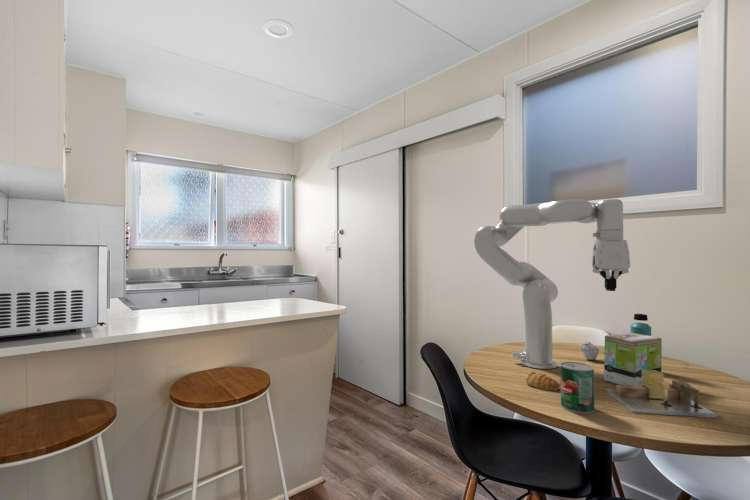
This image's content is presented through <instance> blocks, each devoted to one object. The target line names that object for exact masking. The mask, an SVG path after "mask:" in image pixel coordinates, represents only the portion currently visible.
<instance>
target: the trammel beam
mask: <svg viewBox="0 0 750 500" xmlns="http://www.w3.org/2000/svg"><path fill="white" fill-rule="evenodd" d="M615 387H616V388H615V390H616V394H618V395H619V396H626V397H643V398H649V397H648V388H647V387H641V386H623V385H619V384H616V385H615ZM691 393H693V401H694V407H698V404H699V393H700V390H699V389H697V388H695V387H693V386H692V385H691V384H689V383H687V382H685V381H683V380H679V379H678V380H677V379H676V380H675V379H674V380H671V388H670V387H669V388H668V399H677V400H680V401H691V400H692V398H691V397H692V396H691Z"/></svg>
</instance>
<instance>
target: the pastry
mask: <svg viewBox="0 0 750 500" xmlns="http://www.w3.org/2000/svg"><path fill="white" fill-rule="evenodd" d="M525 383H526V384H527V385H528V386H530V387H531V386H532V387H533V388H536V389H540V390H544V391H553V392H555V391H558V390H560V388H561V383H559V381H557V380H555V379H554V378H552V377H550V376H547V375H546V374H545V373H544V374H542V373H540V372H539V373H536V371H530V372H529V373H528V374H527V376H526V379H525Z"/></svg>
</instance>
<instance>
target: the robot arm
mask: <svg viewBox="0 0 750 500" xmlns="http://www.w3.org/2000/svg"><path fill="white" fill-rule="evenodd" d="M499 220H500V222H499V223H498V224H497V225H496V226H493V225H484V226H481V227H480V228H478V229H477V231H476V232H475V235H474V240H473V242H474V249H475V251H476V253H477V254H478V256H479V257H480V259H481V260H483V262H485V263H486V264H487V265H488V266H489V267H490V268H491V269H492V270H493V271H494V272H496V273H497V274H498V276H501V277H502V278H503V279H504V280H505V282H507V283H508V284H510V285H512V286H516V287H521V288H522V289H523V290H522V302H523V311H524V349H522V351H520V352H516V351H514V352H513V351H512V352H511V358H516V359H519V360H520V364H521V365H523V366H525V367H529V368H533V369H540V370H552V369H555V368H557V367H558V363H557V361H555V360H553V314H552V313H553V312H552V311H553V310H552V305H551V304H552V302H554V301H555V300H557V298H558V295H559V290H558V287H557V285H556V284H555V283H554V282H553V281H552V280H551V279H550V278H549V277H548V276H546V275H545V274H544V273H543V272H542V271H540V270H538V268H536V267H535V266H533V265H532V264H530V263H528V262H526V261H519V260H516V259H515V258H514V257H513V256H511V255H510V254H509V253H508V252H507V251H506V250H504V249H502V248H501V247H503V246H504V245H506V244H507V243H508V242H509V241H511V239H513V238H514V237H515V236H516V235H517V234H518V233H519V232H520V231H521V230H523V228H525V227H539V226H540V227H542V226H547V225H548V224H553V223H562V222H564V223H565V222H566V223H567V222H578V223H581V224H592V223H596V232H593V233H592V237H594V238H596V240H595V241H594V242H593V245H594V246H593V250H592V258H591V259H592V261H591V263H592V272H593V273H594V274H599V275H600V276H601V277H602V278H603V279H604V288H605V290H606V291H609V292H616V289H617V280H618V279H619V277H621V275H625V274H628V273H629V271H630V270H629V269H630V268H631V260H630V259H631V257H630V250H629V245H628V241H627V240H626V239H624V203H623V201H622V200H621V199H618V198H617V199H616V198H609V199H602V200H599V201H598V202H591V201H589V200H588V199H587V200H586V199H582V198H581V199H580V198H578V199H565V200H564V199H563V200H554V201H548V202H540V203H528V204H527V203H525V204H514V205H507V206H505V207H503V208H502V209H501V210H500V212H499ZM610 270H611V271H610Z"/></svg>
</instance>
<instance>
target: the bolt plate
mask: <svg viewBox="0 0 750 500" xmlns="http://www.w3.org/2000/svg"><path fill="white" fill-rule="evenodd" d="M607 394H608V395H609V396H611V397H612V398H614V400H616V401H617V402H619V403H620V404H621V405H623V407H625V408H627V410H629V412H630V411H631V412H632V413H635V414H636V413H637V414H638V413H639V414H650V415H666V416H667V415H668V416H680V417H681V416H683V417H695V418H696V417H697V418H711V419H713V418H714V419H717V418H718V415H717V413H716V412H714V411H712V410H710V409H709V408H707V407H705V406H703V405H701V404H699V403H698V407H694V400H692V399H691V401H680V400H677V399H668V404H664V399H660V398H643V397H626V396H619V395H618V394H616V389H615V390H614V389H607Z"/></svg>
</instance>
